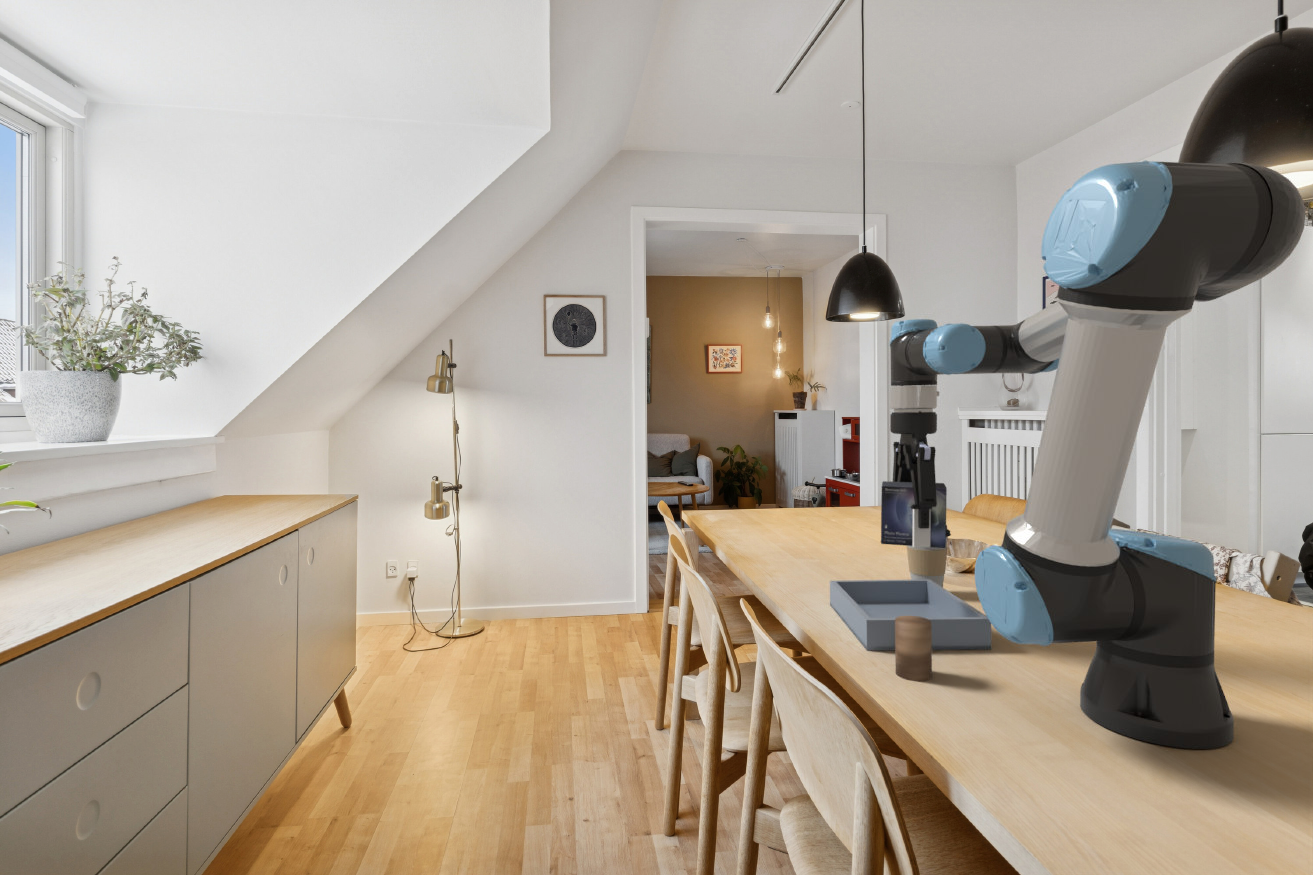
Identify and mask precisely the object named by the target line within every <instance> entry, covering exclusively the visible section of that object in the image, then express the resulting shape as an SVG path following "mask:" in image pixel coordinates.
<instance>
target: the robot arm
mask: <svg viewBox="0 0 1313 875" xmlns="http://www.w3.org/2000/svg"><path fill="white" fill-rule="evenodd" d="M1305 223H1306V209H1305V202H1304V200H1303V197H1302V195H1301V193H1300V191H1299V189H1298V188H1297V187H1296V186H1295V185H1294V184H1293V182H1292V181H1291V180H1290V179H1289V178H1287V177H1286V176H1284V175H1283V174H1281V173H1280V172H1279V171H1276V170H1274V169H1271V168H1270V167H1267V166H1262V165H1260V164H1259V165H1257V164H1254V163H1248V162H1247V163H1246V162H1245V163H1243V162H1241V163H1240V162H1238V163H1237V162H1233V163H1206V162H1205V163H1203V162H1202V163H1200V162H1178V161H1177V162H1176V161H1174V162H1172V161H1153V160H1152V161H1149V160H1146V159H1145V160H1143V161H1134V162H1123V163H1110V164H1105V165H1103V166H1100V167H1097V168H1094V169H1093V170H1091V171H1088V172H1087V173H1085V174H1083V175H1082V176H1081V177H1080V178H1078V179H1077V180H1076V181H1075V182H1074V183H1073V185H1072V186H1071V188H1069V189H1067V190H1066V191H1065V192H1064V193H1063V195H1061V197H1060V198H1059V200H1058V202H1056V205H1055V206H1054V208H1053V209H1052V211H1051V213H1050V215H1049V217H1048V221H1047V223H1046V226H1045V228H1044V232H1043V236H1042V239H1041V249H1040V250H1041V252H1040V253H1041V254H1040V255H1041V259H1042V260H1043V261H1045V262H1044V264H1043V267H1042V268H1043V270H1044V272H1045V274H1046V276H1047V277H1048V279H1050V280H1051V281H1052V282H1053V283H1054V284H1056V285H1058V290H1057V295H1056V301H1055V302H1054V303H1052V304H1050V305H1048V306H1047V307H1045V308H1043V309H1041V310H1039V311H1038V312H1036V313H1034V314H1033V315H1031V316H1030V317H1028V318H1025V319H1024V320H1022V321H1020V322H1018V323H1016V324H1011V325H1009V324H1007V325H1002V324H1001V325H970V324H969V323H945V324H943V325H939V326H938V323H937V322H936V321H935V320H934V319H929V318H921V319H920V318H917V319H916V318H915V319H914V318H913V319H906V320H899V321H896V322H894V323H893V324H892V326H891V330H890V331H891V334H890V341H889V349H890V387H889V407H890V409H891V410H893V411H892V412H891V413H890V415H889V418H890V427H889V428H890V429H889V431H890V433H892V434H894V435H895V434H896V435H900V436H899V437H900V439H899V441H893V444H892V445H893V467H892V482H912V486H913V493H914V501H915V505H912V506H911V509H913V544H912V546H913V547H930V525H931V509H932V507H936V506H937V499H936V483H937V481H936V466H935V463H936V462H935V461H936V451H937V450H936V447H935V446H929V445H928V439H927V436H928V435H933V434H936V433H937V430H938V413H936V411H933V410H934V409H936V408H937V406H938V405H937V404H938V403H937V402H938V401H937V400H938V399H937V398H938V397H939V396H940V391H938V375H939V376H941V375H948V376H950V375H972V374H973V375H975V374H977V375H978V374H980V375H981V374H982V375H983V374H1030V375H1034V374H1040V373H1050V372H1053V371H1055V370H1056V372H1055V375H1054V381H1053V386H1052V389H1051V394H1050V397H1049V398H1050V399H1049V403H1048V406H1047V411H1046V415H1045V420H1044V424H1043V428H1042V434H1041V438H1040V442H1039V447H1038V451H1037V454H1036V459H1035V463H1034V469H1033V472H1032V477H1031V481H1030V486H1029V491H1028V494H1027V498H1026V503H1025V508H1024V512H1023V513H1022V514H1019V515H1018V516H1015V517H1014V518H1011V519H1009V521H1008V522H1007V523H1006V528H1005V531H1004V534H1003V535H1004V536H1003V540H1002V543H1001V545H995V544H994V545H993V544H992V545H991V546H988V547H986V548H985V549H984V550H981V551H980V552H979V554H978V556H977V557H976V560H975V563H974V564H975V566H974V583H975V589H976V593H977V596H978V600H979V602H980V604H981V607H982V610H983V611H984V613H985V614H984V615H986V616H987V618H988V619H989V621H990V623H991V626H992V627H993V628H994V630H996V632H998V634H1000V635H1001V636H1002V637H1003V638H1005V639H1007V640H1008V641H1009V642H1011V643H1014V644H1019V645H1039V646H1042V647H1045V646H1046V647H1047V646H1049V645H1052V644H1053V645H1054V644H1067V643H1071V644H1072V643H1085V642H1087V643H1089V642H1090V643H1091V642H1092V643H1093V642H1096V647H1095V651H1094V655H1093V657H1092V659H1091V662H1090V663H1089V667H1088V669H1087V671H1086V673H1085V674H1086V675H1085V677H1084V680H1083V683H1082V684H1081V686H1080V692H1079V693H1080V695H1079V699H1080V704H1079V705H1080V710H1081V711H1082V713H1084V715H1085V716H1087V717H1088V719H1091V720H1092V721H1093V722H1095V723H1096V724H1099V725H1100V726H1102V727H1104V728H1106V729H1108V730H1111V731H1113V732H1116V733H1118V734H1121V735H1123V736H1126V737H1129V738H1131V739H1136V740H1140V741H1144V742H1148V743H1151V744H1155V745H1156V744H1157V745H1161V746H1165V747H1166V746H1167V747H1174V748H1180V749H1181V748H1182V749H1194V750H1202V749H1203V750H1206V749H1207V750H1208V749H1217V748H1220V747H1226V746H1227V745H1229V744H1230V743H1232V742H1233V740H1234V731H1235V729H1234V727H1235V726H1234V716H1233V714H1232V711H1231V710H1230V707H1229V703H1228V700H1227V698H1226V695H1225V692H1224V689H1223V687H1222V685H1221V682H1220V680H1219V677H1218V674H1217V671H1216V668H1215V637H1216V636H1215V629H1216V628H1215V627H1216V626H1215V625H1216V624H1215V623H1216V585H1217V584H1216V583H1217V582H1218V581H1217V579H1218V578H1217V577H1216V576H1215V575H1216V574H1215V560H1214V555H1213V552H1212V551H1211V550H1210V549H1209V548H1208V547H1207V546H1206V545H1204V544H1202V543H1200V542H1197V541H1194V540H1191V539H1186V538H1180V537H1176V536H1168V535H1164V534H1157V533H1152V532H1150V533H1149V532H1144V531H1135V530H1128V529H1121V528H1120V529H1119V528H1111V526H1112V523H1113V520H1114V519H1113V518H1114V516H1115V512H1116V508H1117V505H1118V501H1119V498H1120V495H1121V490H1122V489H1123V488H1122V486H1123V485H1124V481H1125V478H1126V475H1127V474H1126V473H1127V470H1128V466H1129V462H1130V460H1131V456H1132V452H1133V449H1134V446H1135V441H1136V437H1137V435H1138V432H1139V426H1140V424H1141V422H1142V421H1141V420H1142V417H1143V413H1144V410H1145V406H1146V404H1147V400H1148V396H1149V391H1150V389H1151V386H1152V385H1151V384H1152V382H1153V378H1154V375H1155V372H1156V367H1157V364H1158V360H1159V357H1160V352H1161V350H1162V346H1163V343H1164V340H1165V336H1166V332H1167V329H1168V327H1169V326H1170V325H1171V324H1173V323H1175V321H1177V320H1178V319H1180V318H1182V317H1185V316H1186V315H1188V314H1190V313H1191V312H1192V309H1193V306H1194V303H1195V302H1197V303H1204V302H1205V303H1206V302H1210V301H1214V300H1217V299H1220V298H1221V297H1224V296H1226V295H1228V294H1231V293H1233V292H1235V291H1238V290H1241V289H1242V288H1245V287H1247V286H1249V285H1250V284H1253V283H1255V282H1257V281H1259V280H1261V279H1263V278H1265V277H1266V276H1268V275H1270V274H1271V273H1272V272H1274V271H1275V270H1276V269H1277V268H1279V267H1280V266H1282V264H1283V263H1284V262H1285V261H1286V260H1287V259H1288V258H1289V257H1290V256H1291V255H1292V253H1293V252H1294V250H1295V249H1296V247H1297V246H1298V244H1299V242H1300V240H1301V237H1302V234H1303V232H1304V229H1305ZM925 499H926V500H925Z"/></svg>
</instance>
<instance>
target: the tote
mask: <svg viewBox="0 0 1313 875" xmlns="http://www.w3.org/2000/svg"><path fill="white" fill-rule="evenodd" d="M829 606H830V607H831V609H833V611H834V612H835V613H836V614H837V615H838V617H839V618H840V619H841V620H842V621H843V623H844V625H845V626H846V627H847V628H848V630H850V632H851V633H852V634H853V635H854V636H855V638H856V639H857V640H858V641H859V643H860V644H861V645H862V646H863V647H864V648H865V650H866V651H867V652H869V651H895V618H897V617H899V616H918V617H923V618H926V619H928V620H930V621H931V629H932V651H953V650H954V651H956V650H957V651H959V650H961V651H963V650H964V651H965V650H967V651H969V650H973V651H974V650H979V651H980V650H992V624H991V623H990V621H989V619H988V618H987V616H986V614H984V613H983V612H981V611H980V610H978V609H977V608H975V607H973V606H972V605H970V604H969V603H968V602H965V601H964V600H963V599H961V598H960V597H958V596H956V595H955V594H953V593H951V591H948V590H947V589H946V588H944V586H943V587H941V586H939V585H938V584H936V583H935V582H933V581H932V580H930V579H923V580H911V579H859V580H855V579H854V580H851V579H850V580H849V579H848V580H845V579H844V580H829Z"/></svg>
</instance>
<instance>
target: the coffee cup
mask: <svg viewBox="0 0 1313 875" xmlns="http://www.w3.org/2000/svg"><path fill="white" fill-rule="evenodd" d="M950 536H952V534H951V530H950V529H948V524H946V548H936V547H913V546H906V554H907V555H906V556H907V560H908V570H909V574H910V580H923V579H930V580H932V581H933V582H935V583H936V584H938V585H939V586H941V587H943V588H944V581H945V580H944V578H945V575H946V567H947V558H948V557H947V556H948V540H949V539H948V537H950Z"/></svg>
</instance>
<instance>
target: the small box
mask: <svg viewBox="0 0 1313 875" xmlns="http://www.w3.org/2000/svg"><path fill="white" fill-rule="evenodd" d="M947 491H948V489H947V486H946V484H945V482H936V499H937V506H936V507H932V509H931V525H930V547H936V548H946V525H947V493H948V492H947ZM925 500H926V499H925ZM880 503H881V507H880V509H881V510H880V513H881V514H880V515H881V517H880V519H881V520H880V543H881V545H890V546H891V545H892V546H906V547H907V546H912V544H913V509H911V506H912V505H915V501H914V493H913V486H912V482H893V481H890V480H888V481H887V480H886V481H882V482H881V502H880Z"/></svg>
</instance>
